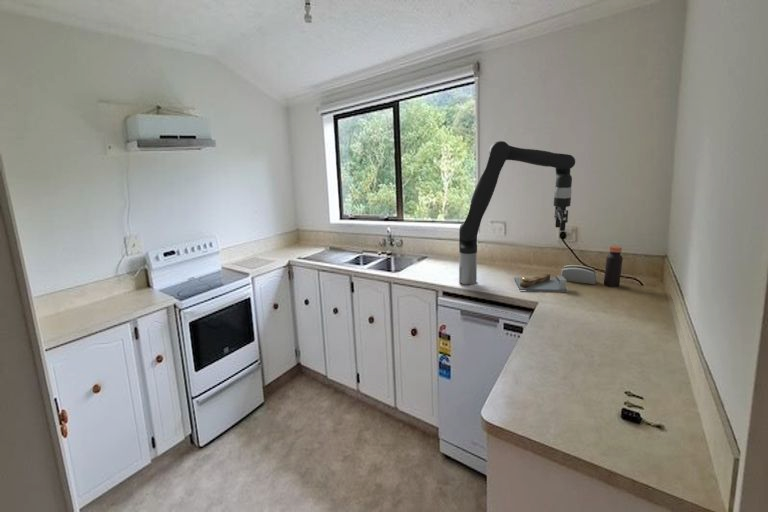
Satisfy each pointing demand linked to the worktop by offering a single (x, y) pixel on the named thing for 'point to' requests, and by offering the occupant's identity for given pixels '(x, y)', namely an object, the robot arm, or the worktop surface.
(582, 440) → the worktop surface
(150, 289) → the worktop surface
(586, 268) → the grey napkin holder
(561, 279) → the keeper
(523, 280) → the pintle
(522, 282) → the link
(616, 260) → the bottle
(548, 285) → the board
